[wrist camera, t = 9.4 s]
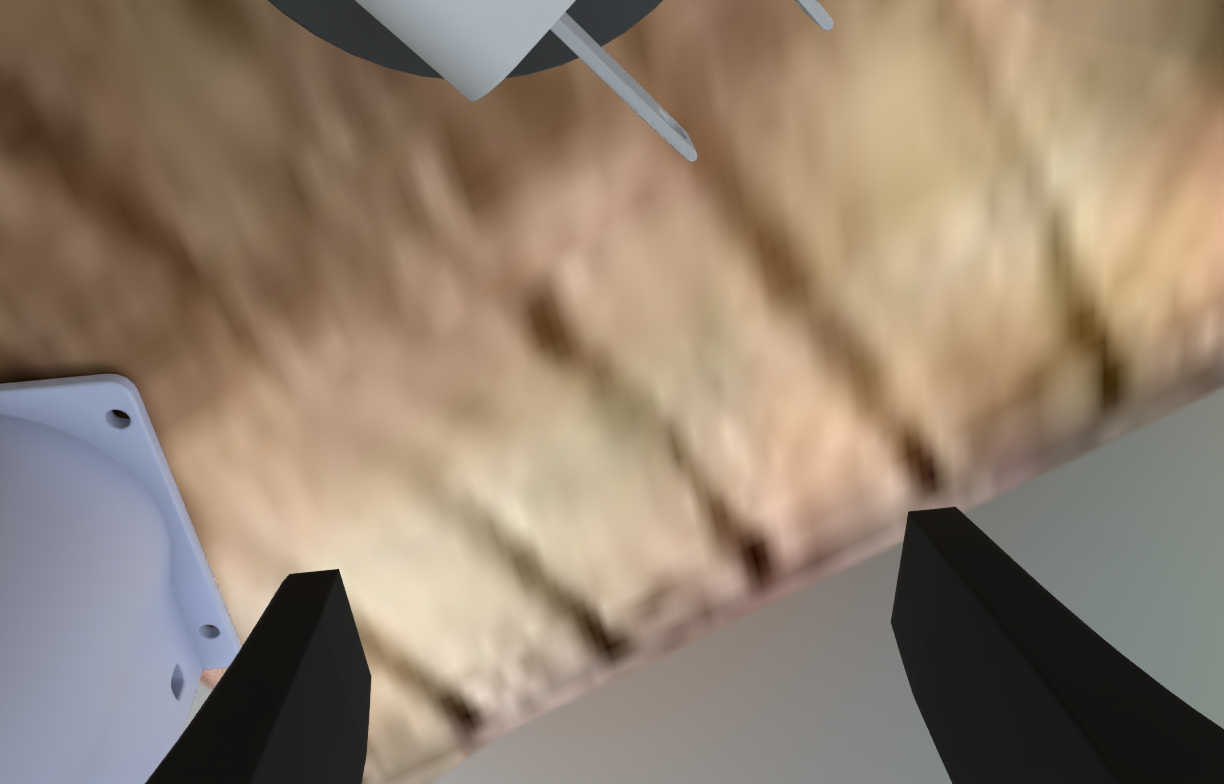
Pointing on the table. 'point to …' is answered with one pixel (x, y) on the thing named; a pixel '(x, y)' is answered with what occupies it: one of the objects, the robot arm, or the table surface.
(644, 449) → the table surface
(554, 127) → the table surface
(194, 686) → the robot arm
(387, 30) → the coffee cup
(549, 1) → the usb wall charger
